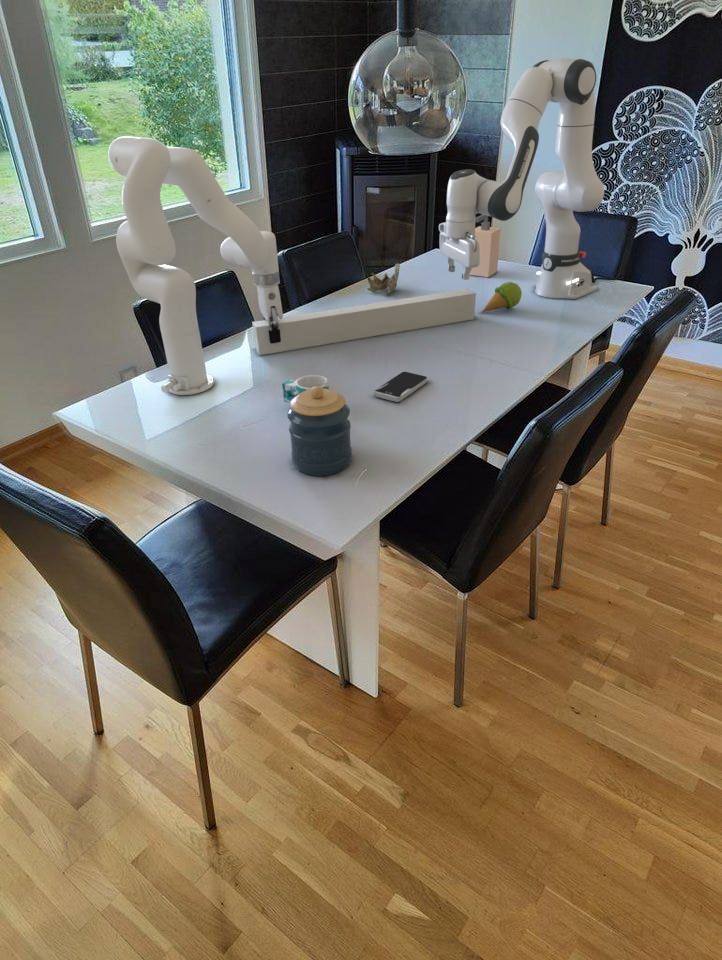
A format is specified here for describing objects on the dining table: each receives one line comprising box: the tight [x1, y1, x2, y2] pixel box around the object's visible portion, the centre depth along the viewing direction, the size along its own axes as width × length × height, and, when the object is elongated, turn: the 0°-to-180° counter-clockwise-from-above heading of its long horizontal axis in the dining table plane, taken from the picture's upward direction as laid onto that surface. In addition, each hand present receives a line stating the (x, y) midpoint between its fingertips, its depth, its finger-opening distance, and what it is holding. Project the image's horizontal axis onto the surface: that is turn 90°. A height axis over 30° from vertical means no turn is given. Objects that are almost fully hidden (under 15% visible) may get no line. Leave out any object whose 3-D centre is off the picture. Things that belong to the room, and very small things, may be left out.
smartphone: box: [373, 371, 428, 403], centre depth 174 cm, size 8×1×15 cm
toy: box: [481, 281, 523, 313], centre depth 221 cm, size 9×9×15 cm
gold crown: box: [367, 263, 401, 296], centre depth 243 cm, size 9×15×10 cm
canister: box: [287, 386, 353, 476], centre depth 141 cm, size 13×13×18 cm
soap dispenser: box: [469, 214, 501, 278], centre depth 252 cm, size 13×9×22 cm
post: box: [251, 288, 477, 356], centre depth 207 cm, size 71×5×9 cm, turn 110°
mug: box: [281, 374, 330, 404], centre depth 164 cm, size 8×12×8 cm
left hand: (273, 338), depth 199 cm, fingers closed on post, 5 cm apart
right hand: (458, 275), depth 210 cm, fingers open, 8 cm apart
